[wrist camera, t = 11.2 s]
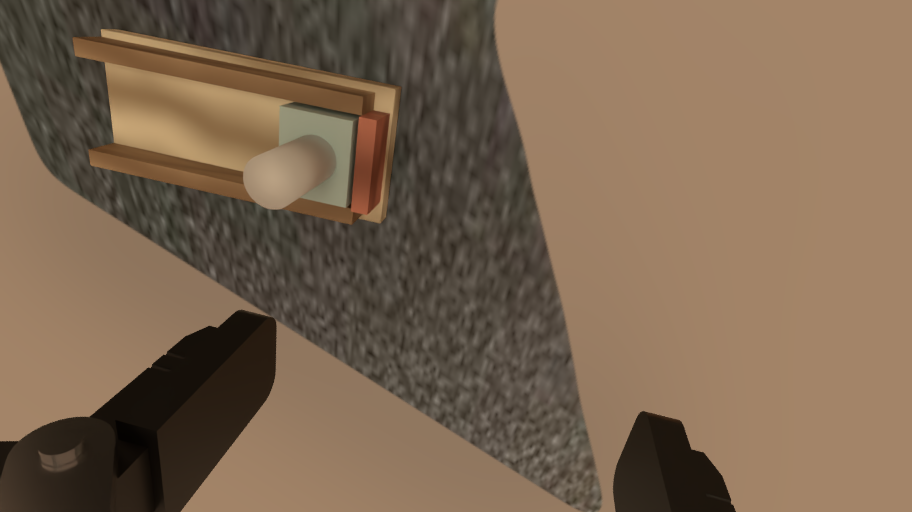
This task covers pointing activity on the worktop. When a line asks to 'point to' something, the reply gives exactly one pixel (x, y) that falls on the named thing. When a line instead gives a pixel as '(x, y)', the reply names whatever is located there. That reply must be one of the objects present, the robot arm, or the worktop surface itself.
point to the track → (230, 117)
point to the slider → (306, 159)
